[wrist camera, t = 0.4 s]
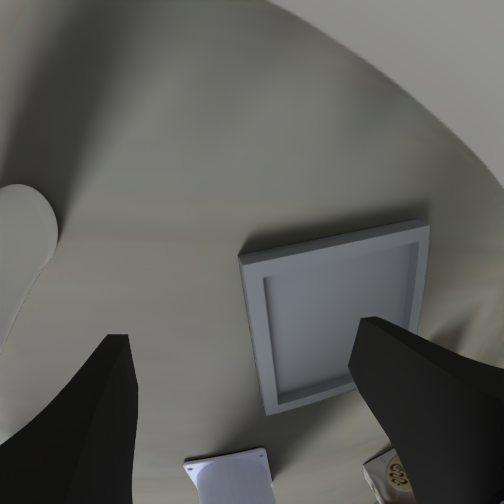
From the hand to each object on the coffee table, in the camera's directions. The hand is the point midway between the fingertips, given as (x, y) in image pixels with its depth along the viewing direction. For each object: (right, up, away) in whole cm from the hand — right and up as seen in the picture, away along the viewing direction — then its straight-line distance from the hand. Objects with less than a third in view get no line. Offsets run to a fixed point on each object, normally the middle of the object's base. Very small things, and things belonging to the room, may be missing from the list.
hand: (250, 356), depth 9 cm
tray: (+6, -2, +13) cm, 15 cm away
